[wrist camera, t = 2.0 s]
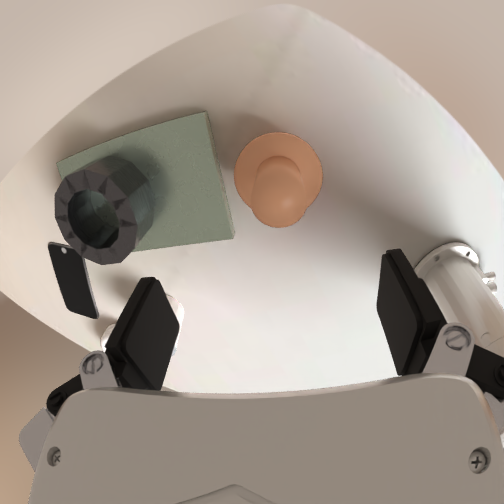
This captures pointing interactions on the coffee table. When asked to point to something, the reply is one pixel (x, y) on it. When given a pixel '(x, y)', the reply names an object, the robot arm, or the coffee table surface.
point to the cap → (278, 178)
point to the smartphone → (73, 280)
